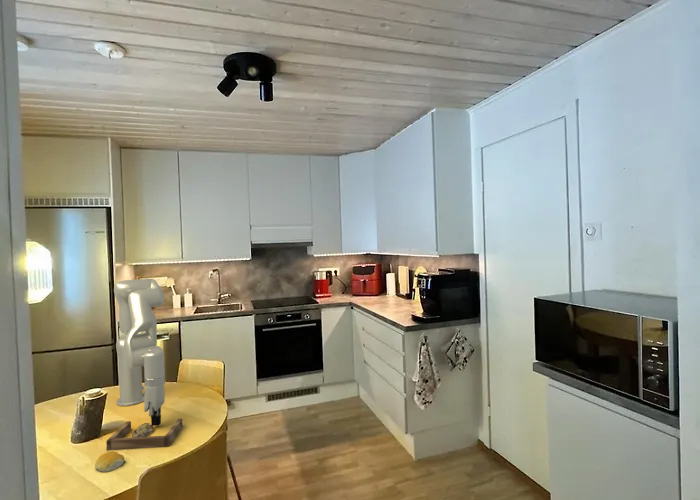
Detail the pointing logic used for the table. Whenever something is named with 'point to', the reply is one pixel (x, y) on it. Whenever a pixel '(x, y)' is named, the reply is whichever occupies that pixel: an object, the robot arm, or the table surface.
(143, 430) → the mineral rock
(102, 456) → the bread roll
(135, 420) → the table surface
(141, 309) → the robot arm
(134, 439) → the dark wooden frame
